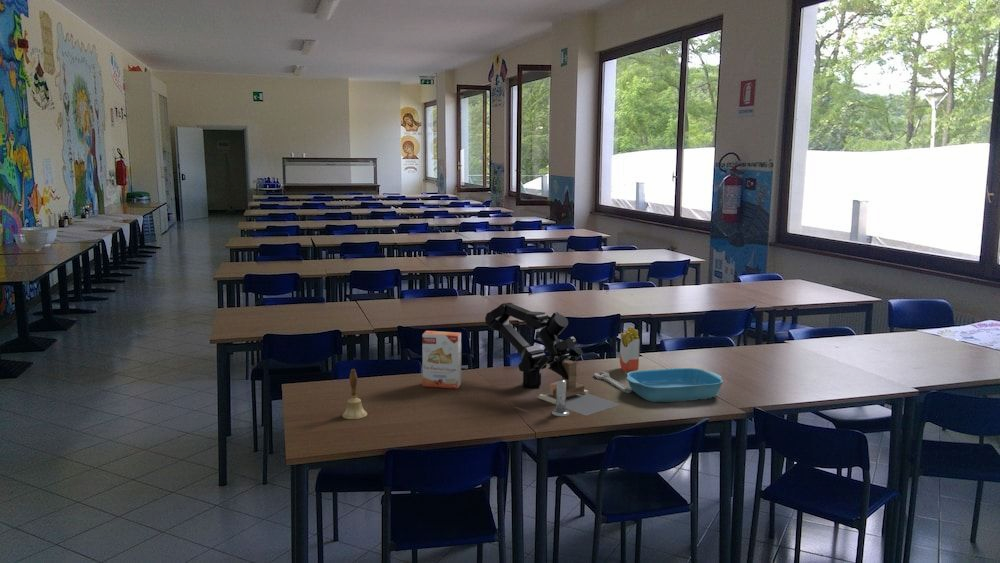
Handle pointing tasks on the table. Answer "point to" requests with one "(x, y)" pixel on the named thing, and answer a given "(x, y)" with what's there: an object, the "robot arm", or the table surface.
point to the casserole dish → (674, 384)
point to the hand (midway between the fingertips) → (571, 378)
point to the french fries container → (629, 350)
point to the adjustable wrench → (612, 381)
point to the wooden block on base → (571, 380)
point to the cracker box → (441, 359)
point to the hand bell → (354, 401)
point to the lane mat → (582, 403)
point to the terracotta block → (553, 387)
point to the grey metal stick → (561, 399)
